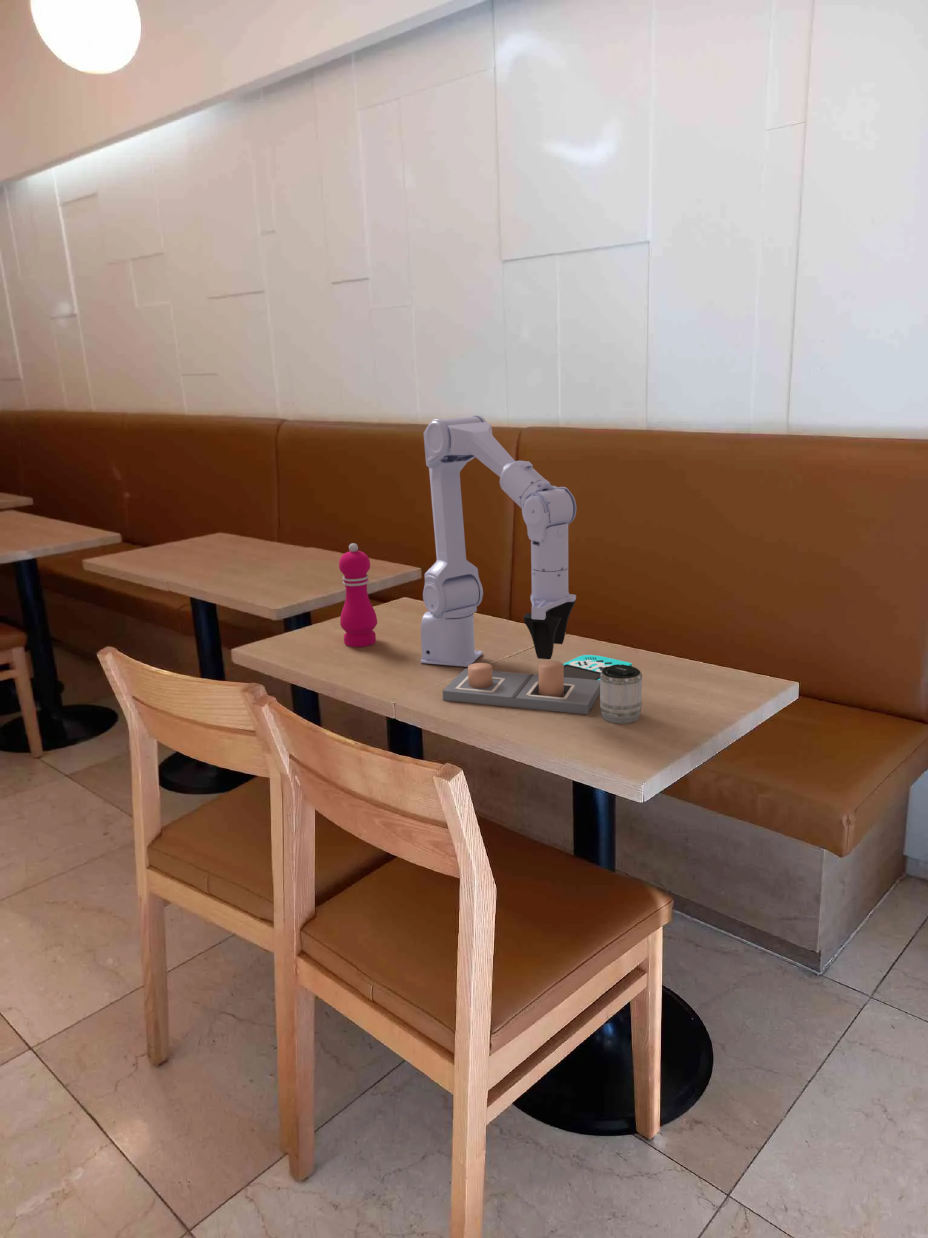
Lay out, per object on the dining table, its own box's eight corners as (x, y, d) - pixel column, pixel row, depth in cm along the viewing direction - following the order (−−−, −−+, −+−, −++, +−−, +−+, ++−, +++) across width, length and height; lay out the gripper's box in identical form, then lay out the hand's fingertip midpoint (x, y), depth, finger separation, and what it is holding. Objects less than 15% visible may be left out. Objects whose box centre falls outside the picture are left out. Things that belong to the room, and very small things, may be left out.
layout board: (443, 700, 148) (441, 673, 147) (465, 677, 158) (464, 652, 157) (587, 714, 140) (587, 686, 139) (601, 689, 150) (602, 663, 149)
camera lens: (613, 706, 143) (613, 659, 141) (648, 714, 139) (649, 666, 137) (592, 718, 138) (592, 670, 136) (628, 728, 135) (629, 678, 132)
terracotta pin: (536, 703, 145) (535, 668, 143) (542, 694, 149) (542, 660, 147) (560, 705, 144) (560, 670, 142) (566, 696, 147) (566, 661, 146)
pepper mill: (358, 634, 184) (351, 538, 178) (386, 640, 180) (379, 541, 174) (334, 644, 178) (326, 545, 173) (361, 650, 174) (354, 548, 168)
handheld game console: (633, 669, 160) (633, 662, 160) (582, 696, 149) (582, 689, 148) (586, 658, 166) (586, 651, 166) (533, 683, 155) (533, 676, 155)
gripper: (563, 580, 132) (564, 667, 136) (585, 558, 145) (585, 638, 149) (517, 577, 135) (519, 663, 138) (542, 556, 148) (543, 635, 151)
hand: (550, 650), depth 144 cm, fingers open, 7 cm apart
